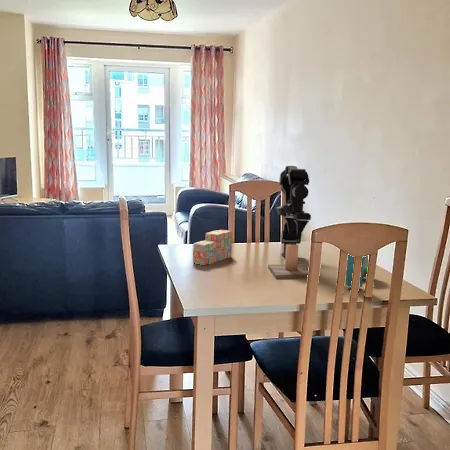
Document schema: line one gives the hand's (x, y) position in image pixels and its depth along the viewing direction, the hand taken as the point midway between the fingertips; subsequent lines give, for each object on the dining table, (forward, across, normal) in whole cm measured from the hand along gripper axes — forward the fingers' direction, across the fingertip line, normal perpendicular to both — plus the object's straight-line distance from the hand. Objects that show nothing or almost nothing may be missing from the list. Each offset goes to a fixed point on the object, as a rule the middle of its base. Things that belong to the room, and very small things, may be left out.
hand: (294, 235), depth 225 cm
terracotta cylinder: (+13, +12, -5) cm, 18 cm away
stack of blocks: (+14, -15, -31) cm, 38 cm away
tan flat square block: (+14, +11, -5) cm, 19 cm away
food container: (+14, +24, +21) cm, 35 cm away
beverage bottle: (+16, +37, +9) cm, 41 cm away
